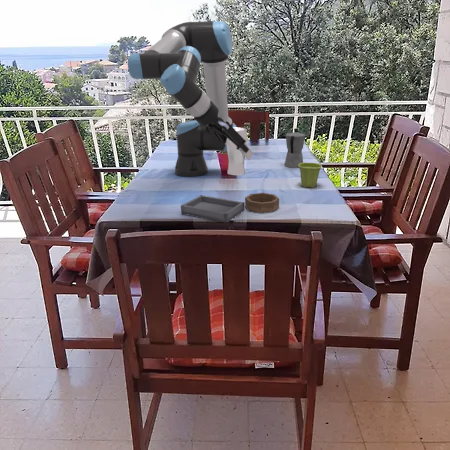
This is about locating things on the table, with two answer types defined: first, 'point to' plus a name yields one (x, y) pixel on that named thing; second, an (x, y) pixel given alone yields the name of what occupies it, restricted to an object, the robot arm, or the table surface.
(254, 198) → the ring holder
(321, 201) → the table surface
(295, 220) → the table surface
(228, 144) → the beer glass
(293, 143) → the coffeepot
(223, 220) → the tray
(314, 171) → the plant pot
